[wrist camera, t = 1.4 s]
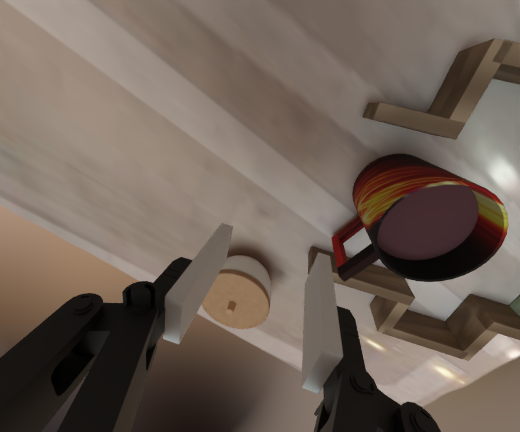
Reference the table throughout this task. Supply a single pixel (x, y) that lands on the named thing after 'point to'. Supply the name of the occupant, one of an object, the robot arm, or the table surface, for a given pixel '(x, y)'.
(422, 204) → the mug
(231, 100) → the table surface
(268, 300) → the lidded jar
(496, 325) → the trap lane
